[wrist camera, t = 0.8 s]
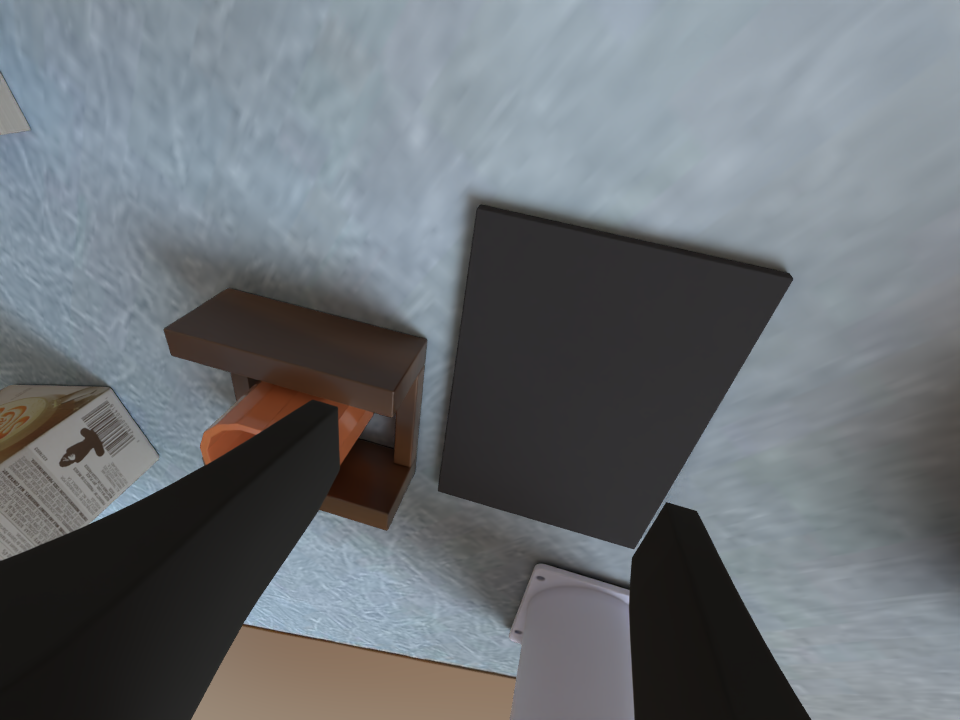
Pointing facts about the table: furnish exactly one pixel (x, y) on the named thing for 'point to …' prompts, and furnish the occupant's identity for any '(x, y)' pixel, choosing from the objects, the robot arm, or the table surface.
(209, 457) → the cup
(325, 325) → the stand
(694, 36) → the table surface
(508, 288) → the mat
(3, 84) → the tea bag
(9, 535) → the coffee box
